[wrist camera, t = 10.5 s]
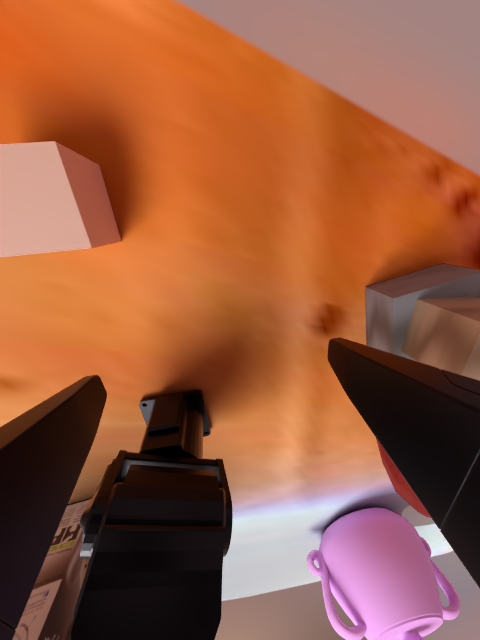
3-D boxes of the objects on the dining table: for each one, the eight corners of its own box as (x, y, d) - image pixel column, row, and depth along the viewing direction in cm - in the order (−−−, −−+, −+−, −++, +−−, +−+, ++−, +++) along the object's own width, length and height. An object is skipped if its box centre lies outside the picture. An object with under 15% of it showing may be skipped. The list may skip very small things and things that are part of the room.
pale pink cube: (121, 241, 17) (91, 248, 13) (54, 248, 17) (-2, 257, 12) (99, 165, 15) (54, 141, 11) (22, 170, 15) (-59, 148, 10)
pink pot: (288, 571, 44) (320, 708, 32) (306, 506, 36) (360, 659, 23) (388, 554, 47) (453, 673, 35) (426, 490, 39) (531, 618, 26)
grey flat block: (431, 331, 25) (469, 349, 22) (364, 352, 25) (391, 373, 22) (439, 263, 22) (485, 270, 18) (362, 286, 22) (393, 298, 18)
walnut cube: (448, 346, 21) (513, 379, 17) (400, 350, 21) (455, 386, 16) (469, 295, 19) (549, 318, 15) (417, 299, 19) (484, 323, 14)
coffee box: (46, 510, 28) (-127, 820, 14) (96, 495, 28) (-23, 787, 14) (85, 543, 32) (-20, 814, 17) (128, 530, 32) (62, 788, 18)
